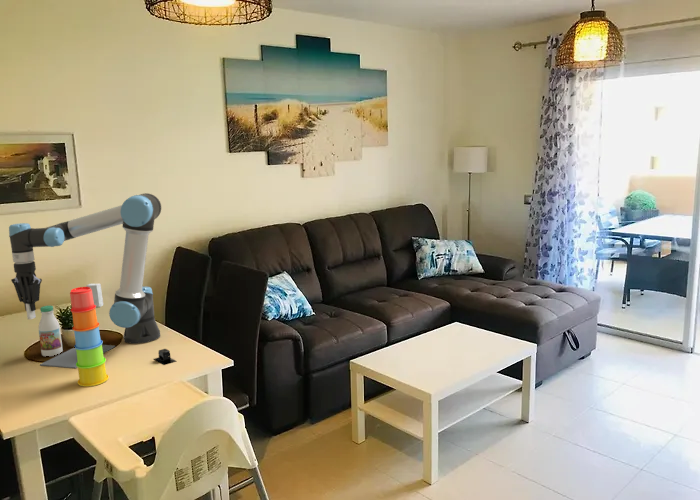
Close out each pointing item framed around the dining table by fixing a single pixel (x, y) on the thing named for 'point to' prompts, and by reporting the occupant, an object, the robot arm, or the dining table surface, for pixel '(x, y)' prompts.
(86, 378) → the stacking cups
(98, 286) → the skincare box
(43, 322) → the milk bottle
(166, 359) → the black block on base
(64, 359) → the slate mat
